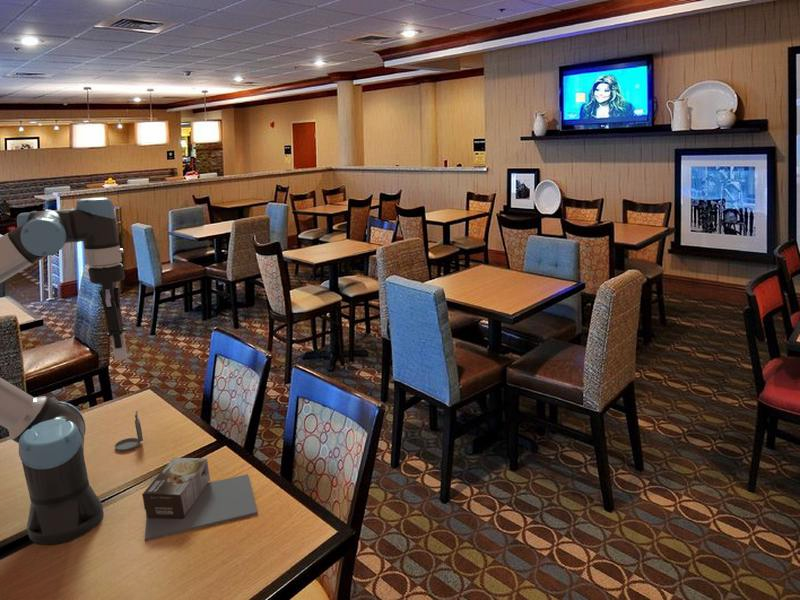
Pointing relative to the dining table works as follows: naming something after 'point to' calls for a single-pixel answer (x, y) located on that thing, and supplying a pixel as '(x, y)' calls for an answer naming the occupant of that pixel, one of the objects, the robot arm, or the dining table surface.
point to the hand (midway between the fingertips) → (121, 358)
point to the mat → (209, 508)
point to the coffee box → (176, 488)
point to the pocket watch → (131, 442)
